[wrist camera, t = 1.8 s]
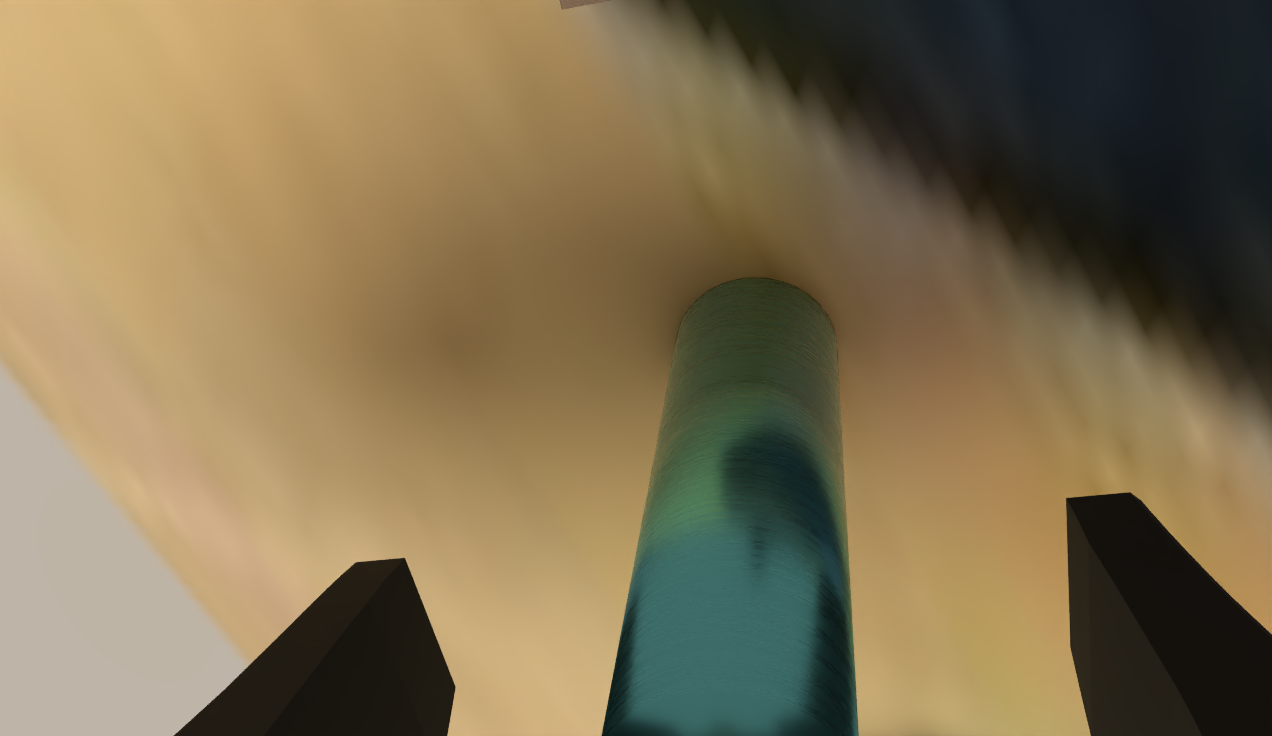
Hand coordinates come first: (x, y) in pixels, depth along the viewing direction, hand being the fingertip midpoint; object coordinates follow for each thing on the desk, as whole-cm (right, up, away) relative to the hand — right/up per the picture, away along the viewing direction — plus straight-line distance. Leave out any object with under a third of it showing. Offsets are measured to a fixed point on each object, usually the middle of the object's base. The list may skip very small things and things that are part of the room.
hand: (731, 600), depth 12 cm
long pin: (+1, +3, +5) cm, 6 cm away
